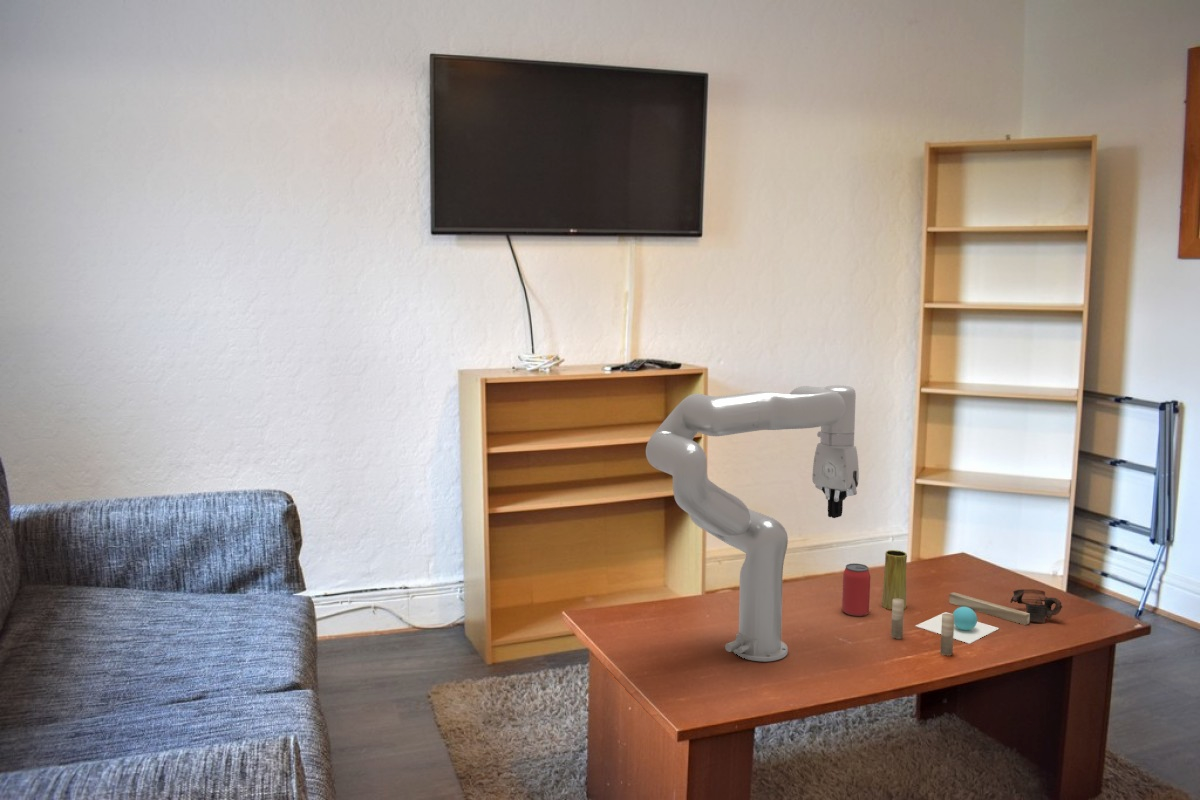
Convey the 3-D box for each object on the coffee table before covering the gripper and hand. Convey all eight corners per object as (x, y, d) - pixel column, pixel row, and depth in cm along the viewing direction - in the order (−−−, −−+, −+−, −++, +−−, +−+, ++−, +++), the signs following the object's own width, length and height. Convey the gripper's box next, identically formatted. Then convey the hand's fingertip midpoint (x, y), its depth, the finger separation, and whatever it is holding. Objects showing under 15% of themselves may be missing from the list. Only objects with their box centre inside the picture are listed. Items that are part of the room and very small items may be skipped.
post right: (948, 657, 206) (950, 618, 205) (938, 653, 208) (939, 615, 207) (954, 653, 208) (956, 615, 207) (944, 650, 210) (946, 612, 209)
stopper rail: (1025, 625, 224) (1025, 615, 224) (949, 603, 239) (949, 593, 239) (1029, 623, 225) (1029, 613, 225) (953, 601, 241) (953, 592, 240)
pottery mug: (1007, 621, 228) (1004, 588, 231) (1019, 628, 235) (1016, 595, 238) (1059, 620, 221) (1055, 586, 224) (1070, 627, 227) (1067, 593, 230)
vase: (890, 611, 234) (892, 557, 232) (876, 603, 239) (878, 550, 237) (911, 609, 235) (913, 555, 233) (897, 601, 241) (899, 548, 239)
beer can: (872, 617, 230) (873, 571, 228) (845, 617, 230) (847, 570, 228) (865, 607, 237) (866, 562, 235) (839, 607, 237) (840, 562, 235)
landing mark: (969, 644, 213) (969, 643, 213) (915, 626, 224) (915, 625, 224) (999, 629, 222) (999, 628, 222) (945, 612, 233) (945, 611, 233)
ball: (980, 632, 221) (967, 633, 217) (958, 627, 225) (946, 627, 222) (983, 609, 221) (970, 609, 218) (961, 604, 225) (949, 604, 222)
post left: (898, 639, 216) (900, 603, 215) (888, 636, 218) (890, 600, 217) (904, 637, 217) (906, 600, 216) (894, 633, 219) (896, 597, 218)
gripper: (800, 436, 215) (798, 513, 218) (855, 445, 204) (852, 526, 207) (820, 433, 220) (818, 507, 223) (874, 441, 209) (871, 520, 211)
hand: (834, 516), depth 215 cm, fingers closed
